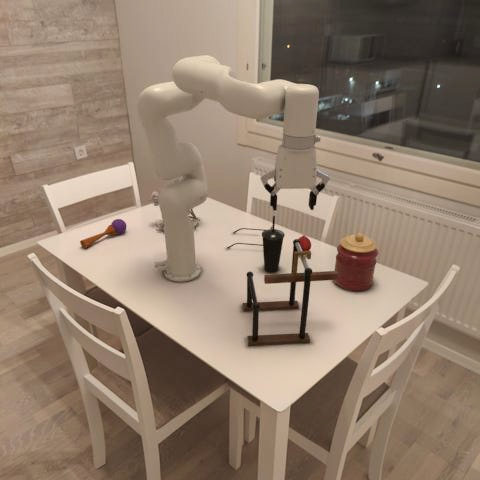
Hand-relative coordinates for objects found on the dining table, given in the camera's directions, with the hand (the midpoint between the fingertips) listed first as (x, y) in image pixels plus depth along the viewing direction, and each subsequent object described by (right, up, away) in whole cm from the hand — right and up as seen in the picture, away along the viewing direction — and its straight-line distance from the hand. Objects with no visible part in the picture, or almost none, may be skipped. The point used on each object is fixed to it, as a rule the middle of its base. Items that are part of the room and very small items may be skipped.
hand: (292, 208), depth 115 cm
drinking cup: (-3, -14, +40) cm, 43 cm away
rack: (-4, -31, +14) cm, 34 cm away
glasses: (-9, -3, +58) cm, 59 cm away
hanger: (+3, -18, +6) cm, 19 cm away
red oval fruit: (+10, -8, +50) cm, 51 cm away
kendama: (-67, -2, +60) cm, 90 cm away
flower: (-39, +4, +68) cm, 79 cm away
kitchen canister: (+24, -19, +34) cm, 45 cm away
